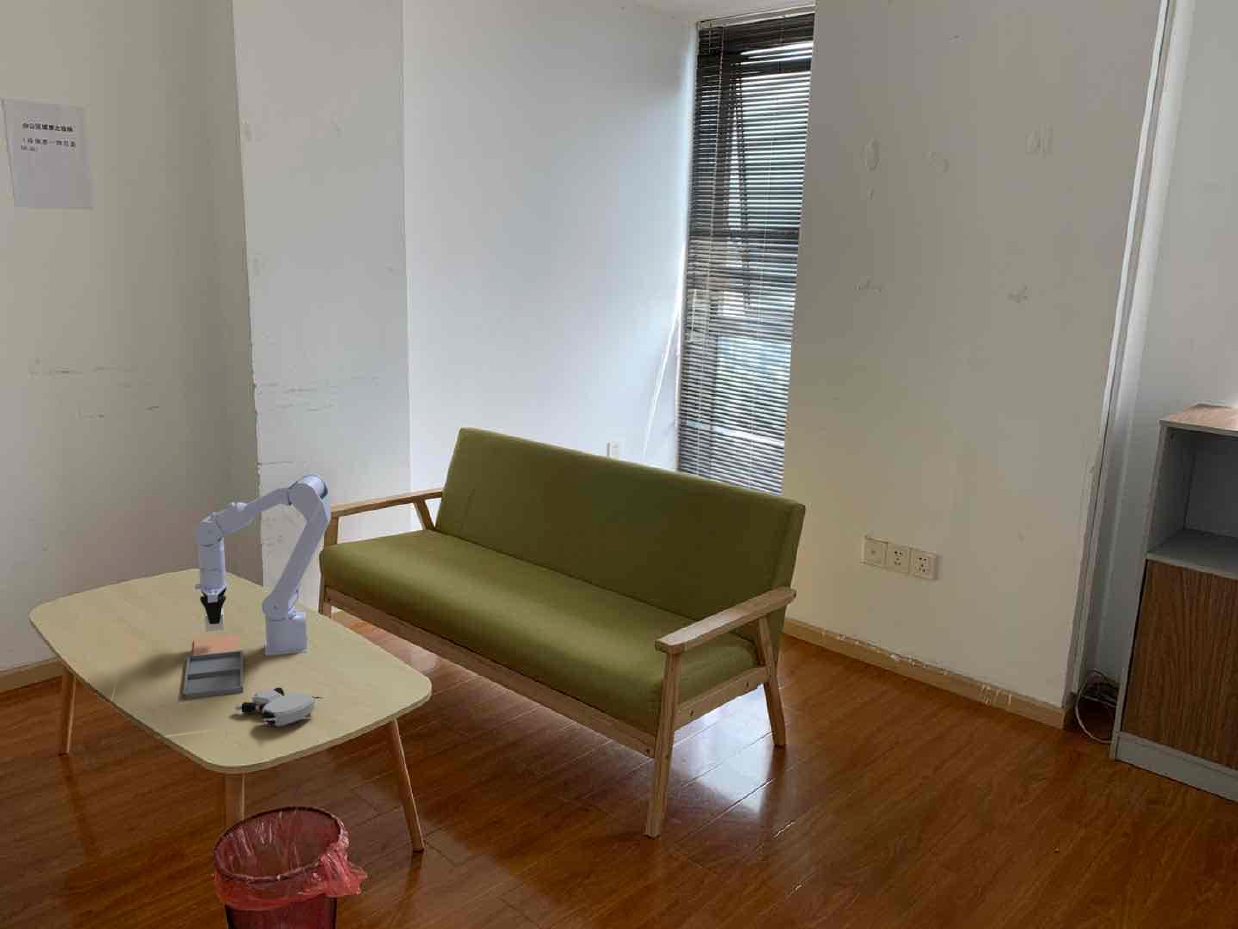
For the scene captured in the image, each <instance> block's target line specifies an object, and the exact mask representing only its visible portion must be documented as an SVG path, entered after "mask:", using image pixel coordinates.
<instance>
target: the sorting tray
mask: <svg viewBox="0 0 1238 929" xmlns="http://www.w3.org/2000/svg"><path fill="white" fill-rule="evenodd" d="M182 691H183V692H182V699H183V700H188V699H196V698H198V699H199V698H204V697H212V696H221V695H230V694H240V693H243V692H244V652H243V650H238V651H231V652H221V653H211V654H201V655H193V654H192V655H187V658H186V668H185V673H184V681H183V690H182Z"/></svg>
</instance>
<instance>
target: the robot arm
mask: <svg viewBox="0 0 1238 929" xmlns="http://www.w3.org/2000/svg"><path fill="white" fill-rule="evenodd" d="M329 495H330V489H329V487H328V486H327V484H326V482H325V480H324V479H323V478H322V477H321V476H320V475H318V474H315V473H309V474H306V475H303V477H302V478H301V479H300V477H299V478H296V479H293V480H290V481H289V482H286V483H283V484H282V485H279V486H278V487H276V488H274V489H272V490H270V491H269V492H267V493H265V494H263V495H261V496H260V497H258V498H256V499H254V500H251V502H248V503H245V502H241V501H239V502H238V501H237V502H236V503H235V502H234V501H232V502H230V503H229V504H227V505H226V507H227V508H225V509H223V510H221V511H219V512H216V511H215V512H212V513H211V514H210V515H209V516H207V517H205V518H203V520H201V521H200V522H199V523H197V524H196V526H195V527H194V529H193V533H192V534H193V538H194V539H195V540H194V541H196V542H197V547H198V548H197V549H198V550H197V552H198V572H199V583H195V584H194V590H200V591H201V594H202V595H201V596H200V599H199V601H200V603H201V604H202V606H203V608H204V609H205V610H206V612H207V616H208V620H209V623H210V624H219V622H220V618H221V610H222V608H223V606H224V604H225V602H226V600H227V596H226V595H225V593H226V592H227V587H228V583H227V578H226V576H227V575H226V574H227V573H226V558H225V557H226V556H225V555H226V554H225V540H224V536H228V535H230V534H233V533H235V532H237V531H238V530H241V529H242V528H245V527H247V526H248V525H251V524H252V522H253V518H254V516H256V515H259V514H261V513H263V512H265V511H267V510H270V509H272V508H274V507H275V506H278V505H280V504H281V505H283V506H287V507H290V506H291V505H293V507H294V508H295V509H296V510H297V511H298V512H299V513H300V514H301V515H302V516H303V518H304V519H305V521H306V524H305V526H304V528H303V529H302V532H301V533H300V537H299V538H298V540H297V543H296V544H295V546H294V549H293V551H292V553H291V555H290V556H289V559H288V561H287V563H286V565H285V568H284V569H283V572H282V574H281V576H280V577H279V580H278V581H277V583H276V585H275V586H274V588H273V589H272V590H271V592H269V594H268V595H267V596H266V597H265V598H264V599H263V600H262V602H261V610H262V613H263V614H264V615H265V636H266V638H265V639H266V641H264V654H265V656H268V657H269V656H277V655H285V654H296V653H304V652H305V653H307V651H308V648H307V647H308V646H307V642H308V633H307V621H306V620H307V619H306V612H305V611H298V610H297V608H296V605H295V604H296V603H297V601H299V597H300V592H299V590H300V587H301V585H302V580H303V578H304V577H305V576H304V575H305V574H306V571H308V568H309V566H310V564H311V561H312V560H313V557H314V556H315V553H316V552H317V549H318V548H319V545H320V542H322V541H321V540H322V539H323V537H324V534H325V533H326V531H327V529H328V527H329V525H330V522H331V519H332V515H331V506H330V499H329V497H330V496H329Z"/></svg>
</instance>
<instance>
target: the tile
mask: <svg viewBox="0 0 1238 929" xmlns="http://www.w3.org/2000/svg"><path fill="white" fill-rule="evenodd" d="M239 635H240V634H238V633H237V634H231V635H230V634H229V635H221V636H220V635H219V636H217V635H216V636H208V637H199V638H197V637H196V638H194V644H193V652H192V655H201V654H211V653H221V652H231V651H239V647H240V646H239V642H240V640H239V638H240V637H239Z"/></svg>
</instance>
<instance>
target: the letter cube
mask: <svg viewBox="0 0 1238 929" xmlns="http://www.w3.org/2000/svg"><path fill="white" fill-rule="evenodd" d="M204 613H205V614H204V621H205V622H204V623H205V632H216V631H224V630H225V616H224V615H225V612H224V607H222V610H221V618H220V622H219V624H210V623H209V620H208V616H207V612H206V610H205V612H204Z"/></svg>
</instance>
